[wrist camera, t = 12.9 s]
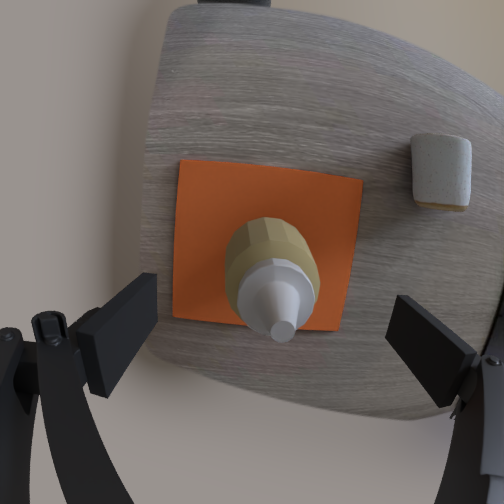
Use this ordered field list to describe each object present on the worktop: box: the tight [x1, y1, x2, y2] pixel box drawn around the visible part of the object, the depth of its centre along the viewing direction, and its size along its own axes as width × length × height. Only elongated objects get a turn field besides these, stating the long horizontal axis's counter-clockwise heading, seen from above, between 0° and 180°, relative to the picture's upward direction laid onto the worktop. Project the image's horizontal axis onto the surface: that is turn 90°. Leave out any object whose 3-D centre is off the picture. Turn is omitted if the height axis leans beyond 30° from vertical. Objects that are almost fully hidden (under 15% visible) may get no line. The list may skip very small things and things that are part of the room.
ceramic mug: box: [410, 133, 471, 212], centre depth 25 cm, size 11×8×8 cm
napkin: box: [173, 160, 363, 331], centre depth 31 cm, size 18×20×1 cm
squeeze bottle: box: [225, 217, 320, 342], centre depth 22 cm, size 8×8×18 cm
